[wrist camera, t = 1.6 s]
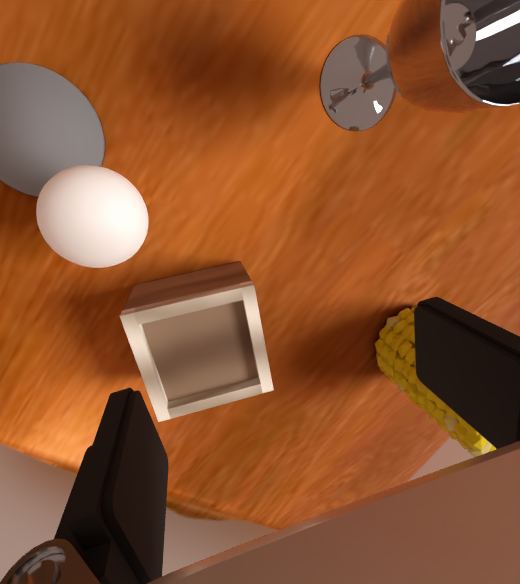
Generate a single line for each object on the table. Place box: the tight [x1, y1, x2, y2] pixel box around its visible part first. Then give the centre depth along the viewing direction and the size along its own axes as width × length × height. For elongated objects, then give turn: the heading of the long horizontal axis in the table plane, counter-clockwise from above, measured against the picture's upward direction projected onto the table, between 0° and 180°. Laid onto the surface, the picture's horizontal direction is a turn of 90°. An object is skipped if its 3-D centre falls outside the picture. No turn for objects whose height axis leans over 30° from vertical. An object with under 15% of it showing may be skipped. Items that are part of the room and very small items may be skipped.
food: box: [375, 306, 496, 457], centre depth 32 cm, size 15×12×10 cm
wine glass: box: [320, 0, 520, 131], centre depth 21 cm, size 8×8×15 cm
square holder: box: [120, 261, 274, 422], centre depth 29 cm, size 10×10×7 cm
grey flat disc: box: [0, 63, 105, 197], centre depth 24 cm, size 9×9×1 cm
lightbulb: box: [36, 165, 148, 268], centre depth 22 cm, size 6×6×11 cm
